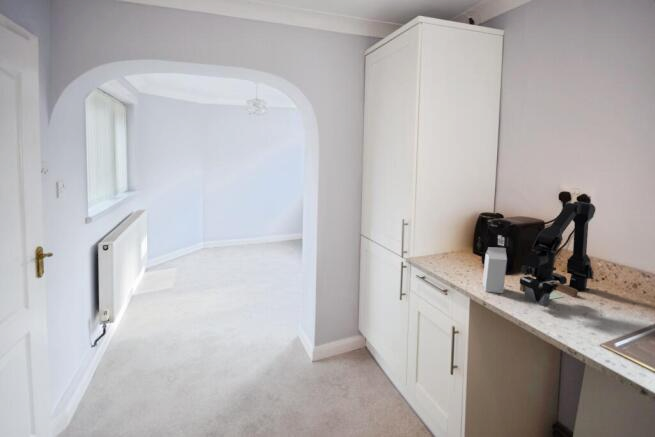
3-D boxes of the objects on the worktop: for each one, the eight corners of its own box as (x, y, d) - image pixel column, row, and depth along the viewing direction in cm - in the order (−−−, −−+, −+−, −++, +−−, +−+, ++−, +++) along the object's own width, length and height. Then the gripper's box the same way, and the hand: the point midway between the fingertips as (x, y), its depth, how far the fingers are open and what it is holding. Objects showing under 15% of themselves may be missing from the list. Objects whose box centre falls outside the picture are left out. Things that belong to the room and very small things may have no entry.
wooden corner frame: (550, 285, 169) (551, 279, 168) (577, 296, 157) (578, 290, 157) (519, 290, 163) (520, 283, 163) (544, 302, 152) (545, 295, 151)
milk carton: (503, 293, 160) (508, 250, 156) (485, 291, 161) (489, 249, 157) (499, 287, 166) (503, 246, 163) (482, 285, 168) (486, 245, 164)
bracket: (524, 297, 156) (525, 285, 155) (535, 295, 158) (536, 284, 157) (542, 306, 148) (544, 294, 147) (554, 304, 150) (555, 292, 149)
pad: (545, 289, 165) (546, 288, 165) (564, 297, 157) (564, 296, 157) (530, 291, 162) (530, 291, 162) (548, 299, 154) (548, 299, 154)
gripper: (546, 255, 158) (541, 290, 161) (511, 259, 152) (506, 295, 155) (570, 263, 147) (564, 300, 151) (534, 268, 141) (528, 306, 145)
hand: (540, 300), depth 151 cm, fingers closed on bracket, 3 cm apart
